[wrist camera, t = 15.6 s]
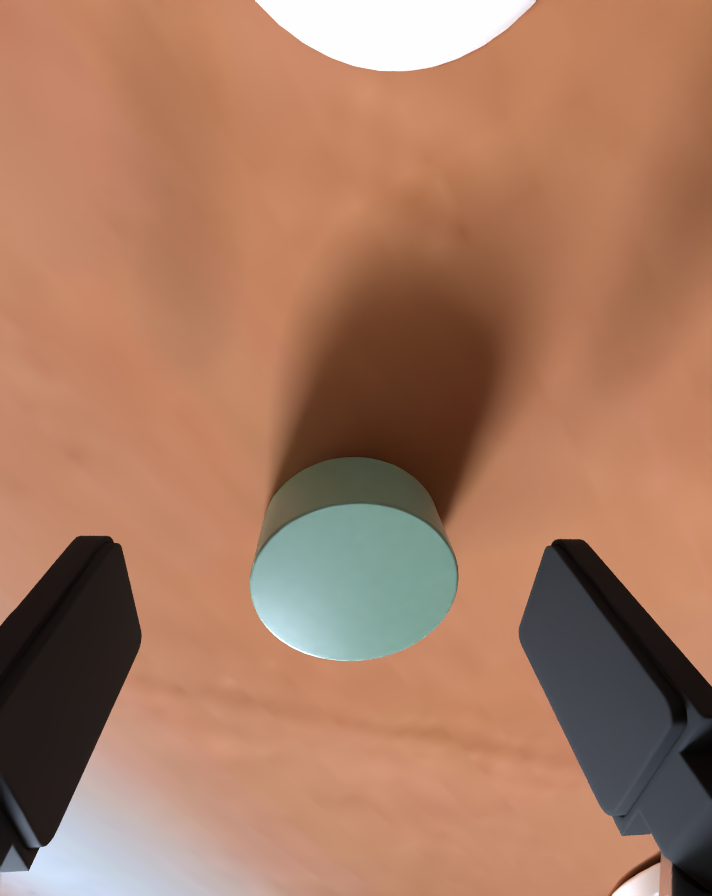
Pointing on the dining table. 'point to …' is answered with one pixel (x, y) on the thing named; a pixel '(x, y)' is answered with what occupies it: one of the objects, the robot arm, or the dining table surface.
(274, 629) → the sage cylinder
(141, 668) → the dining table surface
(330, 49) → the cream bottle
